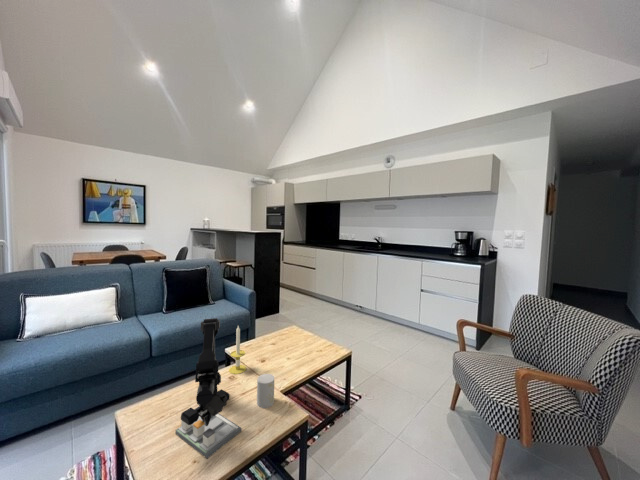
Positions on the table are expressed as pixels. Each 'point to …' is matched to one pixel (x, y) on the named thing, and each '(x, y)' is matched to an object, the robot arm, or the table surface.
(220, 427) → the panel
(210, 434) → the toggle right
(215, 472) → the table surface
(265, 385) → the grey cylinder
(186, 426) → the toggle left
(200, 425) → the toggle mid
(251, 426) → the table surface
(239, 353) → the candle
